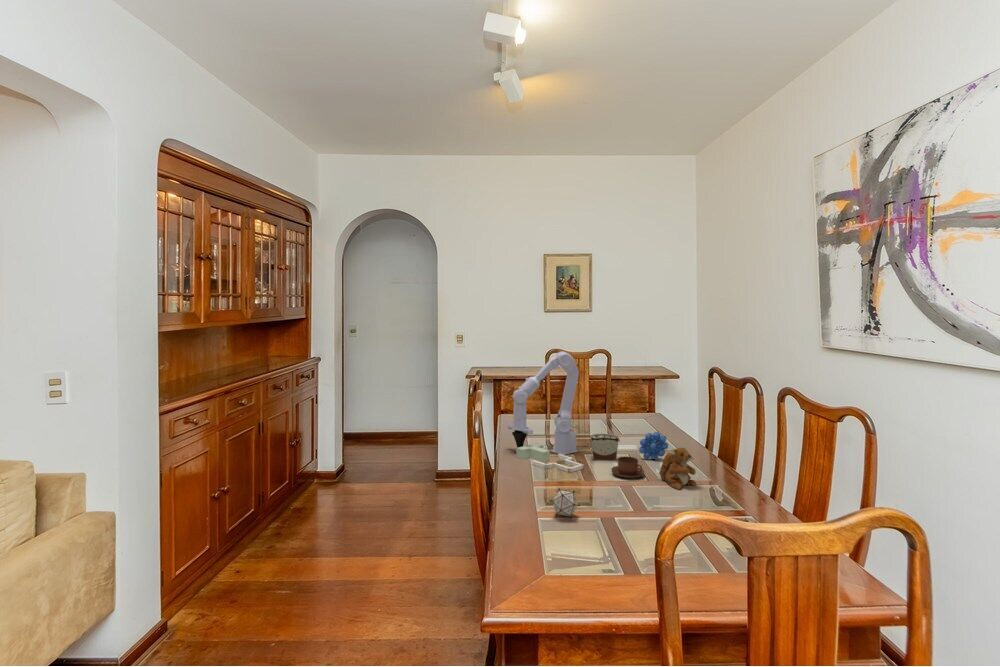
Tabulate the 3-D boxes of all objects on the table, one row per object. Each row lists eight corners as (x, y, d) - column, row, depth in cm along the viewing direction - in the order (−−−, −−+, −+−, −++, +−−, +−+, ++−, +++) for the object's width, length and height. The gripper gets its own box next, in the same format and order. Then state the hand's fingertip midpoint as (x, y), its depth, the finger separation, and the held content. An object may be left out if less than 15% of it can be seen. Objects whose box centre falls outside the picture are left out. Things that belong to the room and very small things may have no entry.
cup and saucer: (647, 473, 195) (647, 457, 195) (639, 482, 185) (640, 465, 184) (616, 468, 201) (616, 453, 201) (607, 477, 190) (607, 461, 190)
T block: (536, 452, 225) (537, 443, 225) (556, 458, 215) (556, 448, 215) (516, 457, 217) (516, 447, 217) (535, 463, 208) (535, 453, 208)
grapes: (668, 458, 214) (668, 430, 214) (667, 463, 208) (668, 433, 208) (639, 456, 219) (640, 428, 218) (638, 460, 212) (638, 431, 212)
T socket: (559, 457, 217) (559, 453, 216) (590, 466, 203) (590, 463, 203) (532, 464, 207) (532, 460, 207) (562, 474, 194) (562, 470, 193)
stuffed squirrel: (679, 491, 176) (679, 453, 175) (650, 479, 188) (651, 443, 188) (700, 486, 180) (701, 449, 179) (671, 475, 193) (671, 440, 192)
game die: (558, 526, 155) (546, 495, 160) (584, 515, 156) (571, 485, 160) (558, 522, 147) (545, 490, 152) (585, 511, 148) (571, 479, 153)
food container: (617, 456, 217) (618, 433, 217) (619, 461, 211) (620, 437, 211) (588, 456, 218) (588, 433, 218) (589, 460, 212) (589, 436, 212)
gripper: (502, 415, 227) (502, 446, 227) (524, 421, 216) (524, 453, 216) (514, 413, 231) (514, 443, 232) (536, 418, 220) (536, 450, 221)
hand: (520, 448), depth 224 cm, fingers closed
